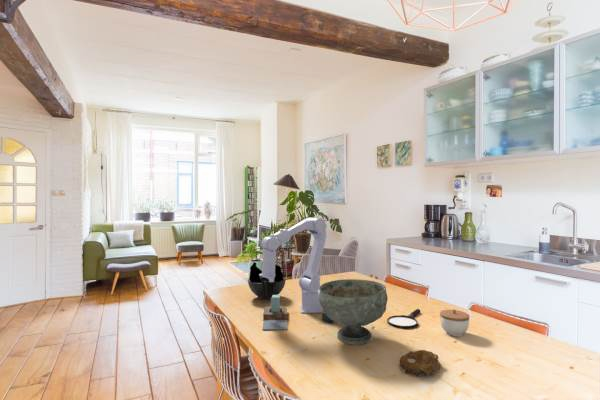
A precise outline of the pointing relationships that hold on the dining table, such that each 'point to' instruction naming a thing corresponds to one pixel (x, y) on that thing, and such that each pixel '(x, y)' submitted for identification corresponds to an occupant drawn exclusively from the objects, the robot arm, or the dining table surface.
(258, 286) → the coal bowl
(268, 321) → the rubber mat
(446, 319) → the lidded jar
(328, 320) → the watch
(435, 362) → the decorative rock
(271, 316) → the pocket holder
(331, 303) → the decorative bowl
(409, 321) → the magnifying glass
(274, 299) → the teal block
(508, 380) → the dining table surface
